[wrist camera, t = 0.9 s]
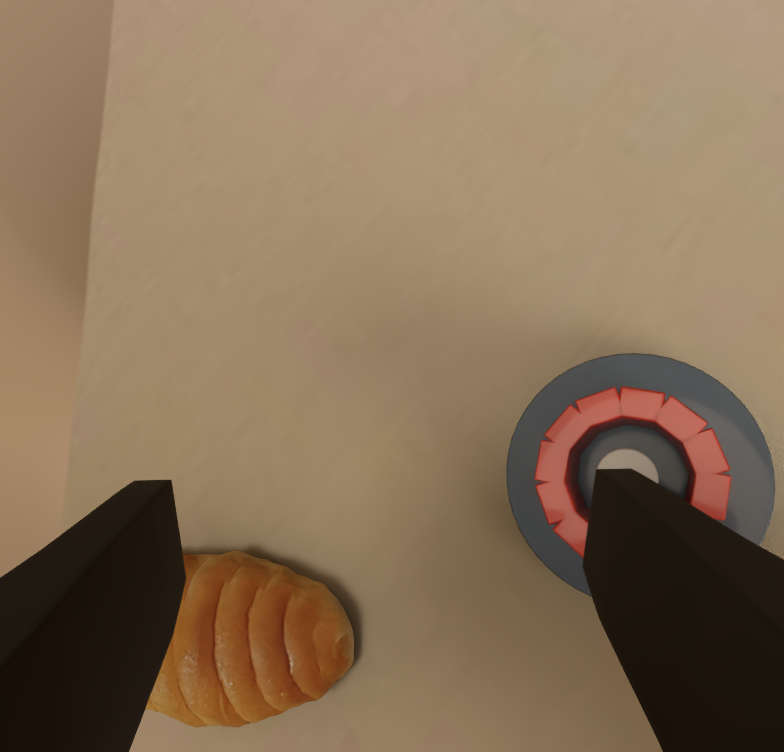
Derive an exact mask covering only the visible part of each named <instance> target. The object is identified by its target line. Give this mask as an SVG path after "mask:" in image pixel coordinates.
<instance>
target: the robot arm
mask: <svg viewBox="0 0 784 752" xmlns="http://www.w3.org/2000/svg"><path fill="white" fill-rule="evenodd" d="M582 567H583V570H584V573H585V576H586V580H587V583H588V586H589V589H590V592H591V596H592V599H593V601H594V604H595V607H596V610H597V613H598V616H599V619H600V621H601V623H602V625H603V628H604V630H605V632H606V634H607V636H608V638H609V640H610V642H611V644H612V647H613V649H614V651H615V653H616V655H617V657H618V659H619V661H620V663H621V665H622V667H623V669H624V671H625V674H626V676H627V678H628V680H629V682H630V684H631V686H632V688H633V690H634V692H635V694H636V696H637V698H638V700H639V702H640V704H641V706H642V708H643V711H644V713H645V715H646V717H647V719H648V721H649V723H650V725H651V727H652V729H653V731H654V733H655V735H656V737H657V739H658V741H659V744H660V746H661V748H662V750H663V752H784V560H783V559H781V558H780V557H778V556H776V555H774V554H772V553H771V552H769V551H767V550H765V549H763V548H762V547H760V546H758V545H756V544H755V543H753V542H751V541H750V540H748V539H746V538H745V537H743V536H741V535H739V534H738V533H736V532H735V531H733V530H731V529H730V528H728V527H726V526H725V525H723V524H721V523H720V522H718V521H717V520H715V519H713V518H712V517H710V516H709V515H707V514H705V513H704V512H702V511H701V510H699V509H697V508H696V507H694V506H693V505H691V504H690V503H688V502H686V501H685V500H683V499H682V498H680V497H678V496H677V495H675V494H674V493H672V492H671V491H669V490H667V489H666V488H664V487H663V486H661V485H659V484H658V483H656V482H654V481H653V480H651V479H649V478H648V477H646V476H644V475H643V474H641V473H639V472H637V471H635V470H633V469H631V468H626V469H596V472H595V479H594V486H593V493H592V500H591V507H590V515H589V522H588V529H587V536H586V543H585V550H584V557H583V564H582ZM185 582H186V572H185V566H184V559H183V553H182V546H181V540H180V533H179V527H178V520H177V514H176V507H175V501H174V494H173V488H172V481H171V480H144V481H133V482H132V483H130V484H129V485H127V486H126V487H124V488H123V489H121V490H120V491H119V492H117V493H116V494H115V495H113V496H112V497H111V498H109V499H108V500H107V501H105V502H104V503H103V504H101V505H100V506H99V507H97V508H96V509H95V510H93V511H92V512H91V513H90V514H88V515H87V516H86V517H84V518H83V519H82V520H80V521H79V522H78V523H76V524H75V525H74V526H72V527H71V528H70V529H68V530H67V531H66V532H64V533H63V534H62V535H60V536H59V537H58V538H56V539H55V540H54V541H52V542H51V543H50V544H48V545H47V546H46V547H44V548H43V549H42V550H40V551H39V552H37V553H36V554H34V555H33V556H31V557H30V558H28V559H27V560H26V561H24V562H23V563H21V564H20V565H18V566H17V567H16V568H14V569H13V570H11V571H10V572H8V573H7V574H5V575H4V576H2V577H1V578H0V752H129V750H130V748H131V745H132V742H133V740H134V737H135V734H136V732H137V729H138V727H139V724H140V721H141V719H142V716H143V713H144V711H145V708H146V706H147V703H148V700H149V698H150V695H151V693H152V690H153V687H154V685H155V682H156V679H157V677H158V674H159V671H160V669H161V666H162V663H163V661H164V658H165V655H166V653H167V650H168V647H169V645H170V642H171V639H172V636H173V633H174V629H175V625H176V621H177V617H178V613H179V609H180V605H181V600H182V596H183V591H184V587H185Z"/></svg>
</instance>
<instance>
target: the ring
mask: <svg viewBox="0 0 784 752" xmlns="http://www.w3.org/2000/svg"><path fill="white" fill-rule="evenodd" d="M664 401H665V393H664V392H659V391H652V390H645V389H639V388H632V387H626V386H622V387H621V388H620V392H619V394H618V392H617V389H616V388H615V387H612V388H609V389H606V390H603V391H600V392H598V393H595V394H592V395H589V396H586V397H584V398H581V399H578V400H576V401H575V404H576V406H577V409H576V408H575V407H574V406H573V405H571V404H570V405H569V406H568V407H567V408H566V409H565V410H564V411H563V413H562V414H561V415H560V416H559V417H558V418H557V420H556V421H555V422H554V423H553V424H552V425H551V427H550V428H549V429H548V430H547V431H546V432H545V434H544V436H545V437H546V438H547V439H549V440H550V441H547V440H541V443H540V448H539V454H538V459H537V465H536V471H535V476H534V480H536V481H541V482H542V483H539V484H536V485H535V488H536V491H537V494H538V497H539V500H540V502H541V505H542V508H543V511H544V514H545V516H546V519H547V522H548V524H549V525H551V524H555V523H557V524H556V525H555V526H554V528H553V531H554V532H555V533H556V534H557V535H558V536H559V537H560V538H561V539H562V540H564V541H565V542H566V543H567V544H568V545H569V546H570V547H571V548H572V549H573V550H575V551H576V552H577V553H578V554H579V555H580V556H581V557H582V558H583V557H584V550H585V543H586V536H587V529H588V522H589V515H590V509H589V508H588V507H587V506H586V504H585V501H584V498H583V495H582V493H581V490H580V487H579V485H578V482H577V476H578V470H579V464H580V458H581V453H582V452H583V451H584V450H585V449H586V448H587V447H588V445H589V444H590V443H591V442H592V441H593V440H594V439H595V437H596V436H597V435H598V434H599V433H602V432H605V431H608V430H611V429H614V428H617V427H619V426H622V425H625V424H626V425H631V426H637V427H643V428H649V429H654V430H655V431H657V432H658V433H659V434H661V435H662V436H663V437H664V438H666V439H667V440H668V441H670V442H671V443H672V444H673V445H675V446H676V447H677V448H678V450H679V452H680V455H681V457H682V460H683V462H684V464H685V467H686V469H687V471H688V474H689V476H688V482H687V488H686V494H685V501H686V502H688V503H690V504H691V505H693V506H694V507H696V508H697V509H699V510H701V511H702V512H704V513H705V514H707V515H709V516H710V517H712V518H713V519H718V520H722V521H723V520H725V517H726V510H727V504H728V498H729V492H730V485H731V479H732V477H731V476H730V475H726V474H720V473H724V472H727V471H729V470H730V466H729V464H728V462H727V459H726V457H725V455H724V452H723V450H722V448H721V446H720V443H719V441H718V439H717V436H716V434H715V432H714V430H713V428H709V429H706V430H703V429H704V428H705V427H706V426H707V424H708V422H707V421H706V420H704V419H703V418H702V417H700V416H699V415H698V414H696V413H695V412H694V411H692V410H691V409H690V408H688V407H687V406H686V405H684V404H683V403H682V402H680V401H679V400H678V399H676V398H675V397H674V396H669V398H668V399H667V400H666V401H665V402H664ZM702 430H703V431H702Z"/></svg>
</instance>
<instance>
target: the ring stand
mask: <svg viewBox="0 0 784 752" xmlns="http://www.w3.org/2000/svg"><path fill="white" fill-rule="evenodd" d="M622 386H626V387H632V388H639V389H645V390H652V391H659V392H664V393H665V401H666V400H667V399H668V398H669V396H674V397H675V398H676V399H678V400H679V401H680V402H682V403H683V404H684V405H686V406H687V407H688V408H690V409H691V410H692V411H694V412H695V413H696V414H698V415H699V416H700V417H702V418H703V419H704V420H706V421H707V422H708V424H707V426H706V427H705V428H704V429H703V430H706V429H709V428H713V430H714V432H715V434H716V436H717V439H718V441H719V443H720V446H721V448H722V450H723V452H724V455H725V457H726V459H727V462H728V464H729V466H730V470H729V471H727V472H724V473H720V474H726V475H730V476H731V477H732V479H731V485H730V492H729V498H728V504H727V510H726V517H725V520H723V521H722V520H718V519H715V520H717V521H718V522H720V523H721V524H723V525H725V526H726V527H728V528H730V529H731V530H733V531H735V532H736V533H738V534H739V535H741V536H743V537H745V538H746V539H748V540H750V541H751V542H753V543H755V544H756V545H758V546H760V544H761V542H762V541H763V539H764V536H765V534H766V531H767V529H768V526H769V524H770V520H771V515H772V511H773V507H774V496H775V480H774V469H773V464H772V460H771V455H770V451H769V449H768V446H767V443H766V441H765V438H764V436H763V434H762V432H761V430H760V428H759V426H758V424H757V423H756V421H755V419H754V418H753V416H752V415H751V414H750V412H749V411H748V410H747V408H746V407H745V405H744V404H743V403H742V402H741V401H740V400H739V399H738V398H737V397H736V396H735V395H734V394H733V393H732V392H731V391H730V390H729V389H727V388H726V387H725V386H724V385H723V384H721V383H720V382H719V381H718V380H716V379H714V378H713V377H711V376H710V375H708V374H706V373H705V372H703V371H701V370H699V369H697V368H695V367H693V366H691V365H688V364H686V363H683V362H680V361H677V360H674V359H671V358H667V357H662V356H656V355H650V354H636V353H633V354H617V355H611V356H605V357H600V358H597V359H594V360H590V361H587V362H584V363H582V364H580V365H578V366H575V367H573V368H571V369H569V370H568V371H566V372H564V373H563V374H561V375H559V376H558V377H556V378H555V379H554V380H553V381H551V382H550V383H549V384H548V385H546V386H545V387H544V388H543V389H542V390H541V391H540V392H539V393H538V394H537V395H536V396H535V397H534V399H533V400H532V401H531V403H530V404H529V406H528V407H527V408H526V410H525V411H524V413H523V415H522V417H521V418H520V420H519V422H518V424H517V426H516V429H515V432H514V434H513V437H512V440H511V444H510V448H509V452H508V460H507V488H508V495H509V501H510V504H511V508H512V512H513V515H514V517H515V520H516V522H517V524H518V527H519V529H520V531H521V533H522V535H523V536H524V538H525V540H526V542H527V543H528V545H529V546H530V547H531V549H532V550H533V551H534V553H535V554H536V556H537V557H538V558H539V559H540V560H541V561H542V562H543V563H544V564H545V565H546V566H547V567H548V568H549V569H550V570H551V571H552V572H553V573H554V574H556V575H557V576H558V577H559V578H560V579H562V580H563V581H565V582H566V583H568V584H569V585H571V586H572V587H574V588H575V589H577V590H579V591H581V592H583V593H585V594H587V595H589V596H591V592H590V589H589V586H588V583H587V580H586V576H585V573H584V570H583V567H582V564H583V558H582V557H581V556H580V555H579V554H578V553H577V552H576V551H575V550H573V549H572V548H571V547H570V546H569V545H568V544H567V543H566V542H565V541H564V540H562V539H561V538H560V537H559V536H558V535H557V534H556V533H555V532H554V531H553V528H554V526H555V525H556V524H557V523H555V524H551V525H549V524H548V522H547V519H546V516H545V514H544V511H543V508H542V505H541V502H540V500H539V497H538V494H537V491H536V488H535V485H536V484H539V483H542V482H541V481H536V480H534V476H535V471H536V465H537V459H538V454H539V448H540V443H541V440H547V441H550V440H549V439H547V438H546V437H545V436H544V434H545V432H546V431H547V430H548V429H549V428H550V427H551V425H552V424H553V423H554V422H555V421H556V420H557V418H558V417H559V416H560V415H561V414H562V413H563V411H564V410H565V409H566V408H567V407H568V406H569V405H570V404H571V405H573V406H574V407H575V408H576V409H577V406H576V404H575V401H576V400H578V399H581V398H584V397H586V396H589V395H592V394H595V393H598V392H600V391H603V390H606V389H609V388H612V387H615V388H616V389H617V392H618V394H619V392H620V388H621V387H622ZM665 401H664V402H665ZM703 430H702V431H703ZM626 468H631V469H633V470H635V471H637V472H639V473H641V474H643V475H644V476H646V477H648V478H649V479H651V480H653V481H654V482H656V483H658V484H659V485H661V486H663V487H664V488H666V489H667V490H669V491H671V492H672V493H674V494H675V495H677V496H678V497H680V498H682V499H683V500H685V494H686V488H687V482H688V476H689V474H688V471H687V469H686V467H685V464H684V462H683V460H682V457H681V455H680V452H679V450H678V448H677V447H676V446H675V445H673V444H672V443H671V442H670V441H668V440H667V439H666V438H664V437H663V436H662V435H661V434H659V433H658V432H657V431H655V430H654V429H649V428H643V427H637V426H631V425H626V424H625V425H622V426H619V427H617V428H614V429H611V430H608V431H605V432H602V433H599V434H598V435H597V436H596V437H595V439H594V440H593V441H592V442H591V443H590V444H589V445H588V447H587V448H586V449H585V450H584V451H583V452H582V453H581V458H580V464H579V470H578V476H577V482H578V485H579V487H580V490H581V493H582V495H583V498H584V501H585V504H586V506H587V507H588V508H589V509H590V507H591V500H592V493H593V486H594V479H595V472H596V469H626ZM591 597H592V596H591Z"/></svg>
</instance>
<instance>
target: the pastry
mask: <svg viewBox="0 0 784 752" xmlns="http://www.w3.org/2000/svg"><path fill="white" fill-rule="evenodd" d="M183 559H184V566H185V572H186V582H185V587H184V591H183V596H182V600H181V605H180V609H179V613H178V617H177V621H176V625H175V629H174V633H173V636H172V639H171V642H170V645H169V647H168V650H167V653H166V655H165V658H164V661H163V663H162V666H161V669H160V671H159V674H158V677H157V679H156V682H155V685H154V687H153V690H152V693H151V695H150V698H149V700H148V703H147V706H146V708H145V709H148V710H153V711H156V712H161V713H164V714H166V715H168V716H170V717H171V718H174V719H177V720H180V721H181V722H183V723H185V724H188V725H191V726H194V727H201V726H213V725H221V726H229V727H240V726H243V725H245V724H247V723H255V722H258V721H261V720H263V719H265V718H267V717H269V716H275V715H278V714H281V713H283V712H284V711H286V710H288V709H291V708H292V707H296V706H299V705H301V704H303V703H305V702H308V701H315V700H318V699H320V698H321V697H322V696H323V695H324V694H325V693H326V692H327V691H328V690H329V689H330V687H332V686H333V685H334V683H335V682H337V681H338V680H339V679H340V678H341V677H343V676H344V675H345V673H346V672H347V671H348V670H349V669H350V667H351V665H352V663H353V660H354V635H353V630H352V627H351V624H350V621H349V619H348V617H347V615H346V613H345V611H344V609H343V607H342V605H341V604H340V602H339V600H338V599H337V598H336V597H335V596H334V595H333V594H332V593H331V592H330V591H329V589H328V588H327V587H326V585H324V584H323V583H321V582H318V581H314V580H311V579H309V578H308V577H306V576H301V575H298V574H296V573H294V572H293V571H292V570H290V569H289V568H288V567H286V566H284V565H278V564H275V563H272V562H271V561H269V560H268V559H259V558H256V557H253V556H251V555H249V554H247V553H245V552H241V551H235V550H234V551H230V552H227V553H224V554H221V555H216V554H197V555H189V554H183Z"/></svg>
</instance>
